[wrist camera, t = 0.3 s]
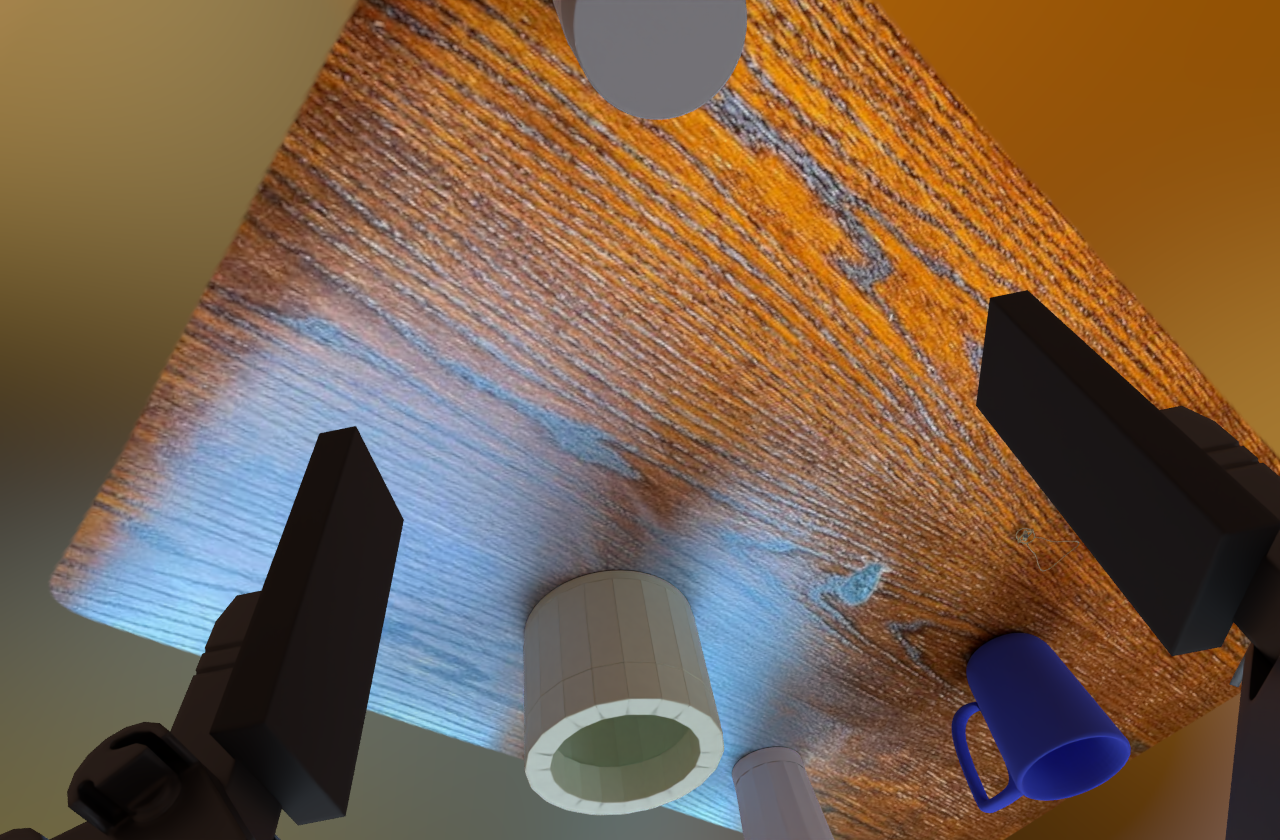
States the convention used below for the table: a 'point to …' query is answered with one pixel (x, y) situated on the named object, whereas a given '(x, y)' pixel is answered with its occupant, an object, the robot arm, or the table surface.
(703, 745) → the round pot
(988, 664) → the mug
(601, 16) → the container
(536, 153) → the table surface
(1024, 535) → the necklace
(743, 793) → the cup
